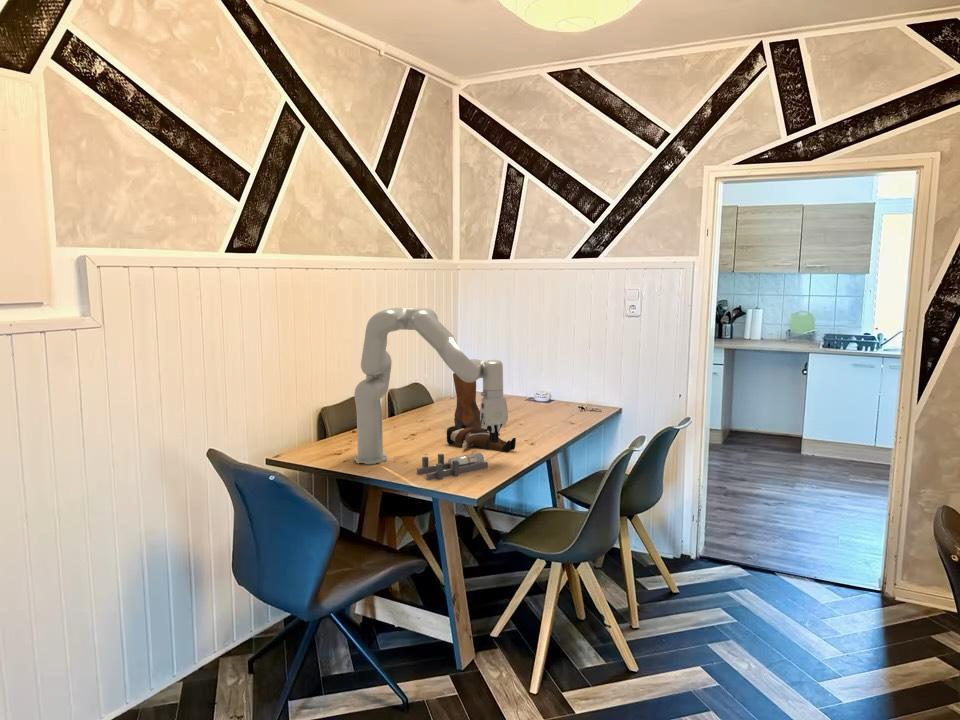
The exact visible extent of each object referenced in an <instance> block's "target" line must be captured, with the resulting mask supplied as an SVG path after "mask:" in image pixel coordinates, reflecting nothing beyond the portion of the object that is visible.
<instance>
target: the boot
mask: <svg viewBox="0 0 960 720" xmlns="http://www.w3.org/2000/svg"><path fill="white" fill-rule="evenodd" d="M452 377H453V383H454V389H455V394H456V396H455V397H456V407H455V411H454V419H453V420H454V426H457V427H458V429H460V428H464V429H465V428H474V431H473V434H476V433H481V432H485V431H488V430H487V429H483V428H481V424H482V423H481V422H480V409H479V407H478V405H477V401H476V400H477V380H476V381H475V382H472V383H467V382H465V381H463V380H461V379H460V378H459V377H458V376H457V375H456V374H455V373H454V372H453V374H452Z"/></svg>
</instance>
